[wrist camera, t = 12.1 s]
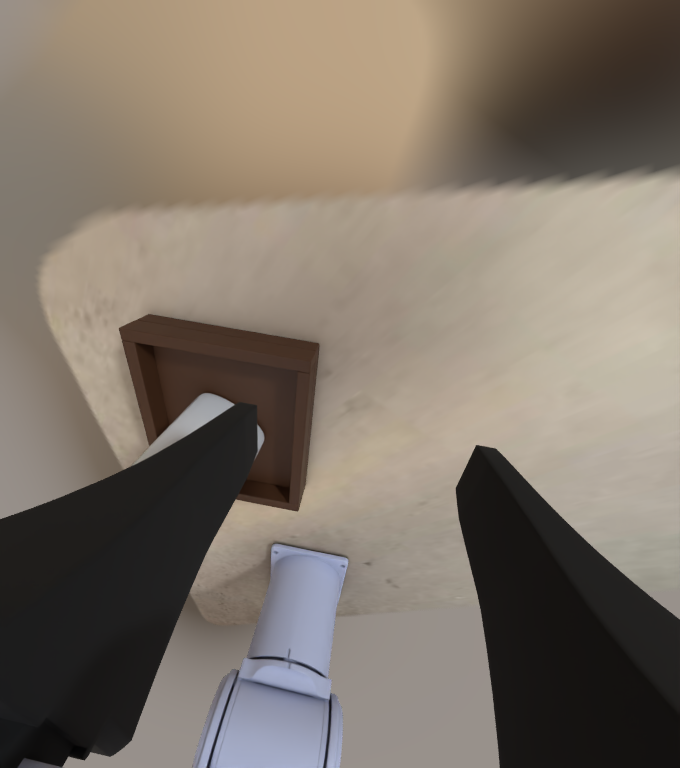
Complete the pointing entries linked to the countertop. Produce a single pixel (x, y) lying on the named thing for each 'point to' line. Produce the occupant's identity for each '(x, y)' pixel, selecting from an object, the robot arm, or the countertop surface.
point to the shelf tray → (230, 391)
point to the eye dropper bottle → (193, 423)
